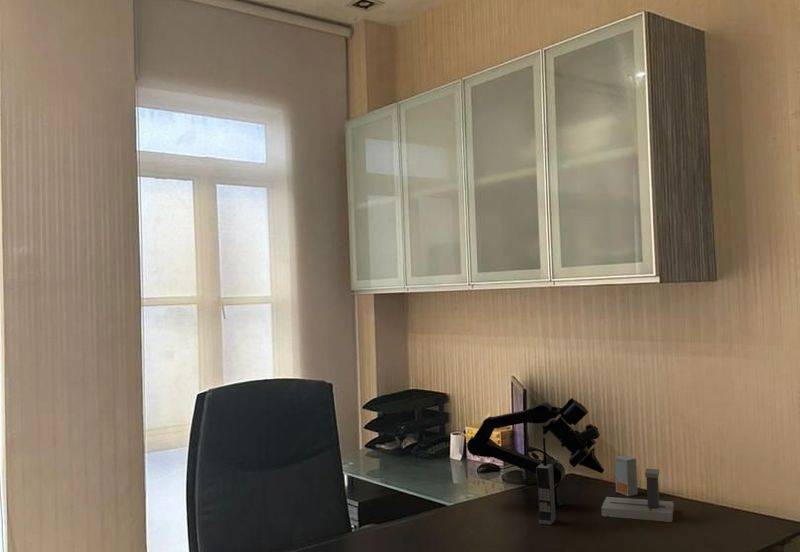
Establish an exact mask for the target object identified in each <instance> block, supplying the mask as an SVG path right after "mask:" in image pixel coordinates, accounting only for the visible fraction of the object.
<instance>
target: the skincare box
mask: <svg viewBox="0 0 800 552" xmlns="http://www.w3.org/2000/svg"><path fill="white" fill-rule="evenodd" d="M614 472H615V473H614V475H615V492H616V493H620V494H621V495H624V496H627V497H631V496H636V495H638V477H637V459H636V458H635V457H631V456H626V455H623V454H622V455H617V456H614Z"/></svg>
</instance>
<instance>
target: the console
mask: <svg viewBox="0 0 800 552" xmlns="http://www.w3.org/2000/svg"><path fill="white" fill-rule="evenodd" d="M600 509H601V510H600V511H601V516H602V517H607V516H609V517H610V518H620V519H621V518H623V519H630V518H631V519H634V520H642V521H643V520H644V521H657V522H667V523H669V522H670V523H672V522H673V519H674V510H675V509H674V501H671V500H670V501H668V500H667V501H666V500H659V508H655V507H648V499H642V498H641V499H640V498H639V499H638V498H629V497H627V498H625V497H614V496H613V497H611V496H606V497H605V499H604V501H603V503H602V506H601V507H600ZM609 517H608V518H609Z"/></svg>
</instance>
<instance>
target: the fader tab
mask: <svg viewBox="0 0 800 552" xmlns="http://www.w3.org/2000/svg"><path fill="white" fill-rule="evenodd" d="M644 472H645V473H644V477H645V478H646V493H647V494H646V496H647V499H646V500H648V507H655V508H659V501H660V490H659V489H660V488H659V487H660V486H659V475H660V470H659V468H646V469H645V471H644Z"/></svg>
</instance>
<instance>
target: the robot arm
mask: <svg viewBox="0 0 800 552" xmlns="http://www.w3.org/2000/svg"><path fill="white" fill-rule="evenodd" d="M588 414H589V411H588V409H587V408H586V407H585V406H584V405H583V404H582V403H580V402H579V401H578V400H575V399H574V398H573V397H571V398H570V399H569V400H568V401H567V403H565V405H563V407H558V406H552V405H551V404H550V403H548V402H541V403H539V404H535V405H533V406H531V407H529V408H527V409H524V410H520V411H515V412H510V413H504V414H501V415H495V416H488V417H487V418H485V419H483V422H482V423H481V425H480V427H479V428H478V430H477V431H476V433H475V434H474V436H473V437H471V438H470V439H469V440H468V441H467V443H466V448H467V451H468V453H469V454H470V455H473V456H475V457H476V456H477V457H481V458H494V459H496V460H499V461H501V462H504V463H506V464H510V465H512V466H514V467H518V468H520V469H522V470H525V471H528V472H530V473H532V474H534V475H535V476H537V471H536V467H538V466H539V465H540V464H543V463H544V459H537V458H534V457H532V456H528V455H525V454H523V453H520V452H518V451H515V450H513V449H509V448H507V447H505V446H501V445H499V444H498V443H496V442H495V441H493V440H492V439H491V437H492V434H493V432H494V431H495V429H500V428H501V429H502V428H506V427H510V426H511V427H512V426H516V425H522V424H544V425H542V434H543V435H545V436H546V435H547V433H548V432H550V433H551V435H553V436H554V437H555V438H556V440H558V442H559V443H560V446H561V447H562V448H565V449H567V450H568V451H569V452H570V458H568V459H569V460H568V463H569V464H570V466H572V467H573V468H575V467H577V466H578V465H579V466H583V467H585V468H588V469H590V470H592V471H595V472H597V473H599V474H603V473H604V472H605V469H604V468H603V466H602V464H601V462H599V459H598V458H597V456H596V454H595V451H596V450H595V449H596V447H595V444H596V443H597V441H595V440H596V439H598V438H600V436H601V434H600V432H599V428H598V427H597V426H596V425H592V424H591V423H590V424H589V423H588V424H587V425H586V426H585V430H583V431H581V432H580V431H579V430H577V429H575V430H574V429H573V428H572V427H571V425H574V426H576V425H577V424H578V423H579V422H580V421H581V420H582V419H583V418H584V417H585V416H586V415H588ZM558 416H560V417H559V418H558V419H556V418H557V417H558ZM551 419H552V420H551ZM550 420H551V421H550ZM548 421H549V422H548ZM547 422H548V424H546V423H547ZM546 463H547V464H551V465H553V475H554V497H555V509H557V508H559V507H561V506H563V505H564V503H563V502H560V491H559V490H560V489H559V483H560V482H561V481H562V480H563V479H564V477H565V474H566V469H565V467H564V465H563V464H562V463H561V462H559V460H558V459H553V458H551V457H549V456H547V455H546ZM536 485H537V487H538V484H537V483H536ZM535 507H538V508H539V502H538V503H536V504H535Z"/></svg>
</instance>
